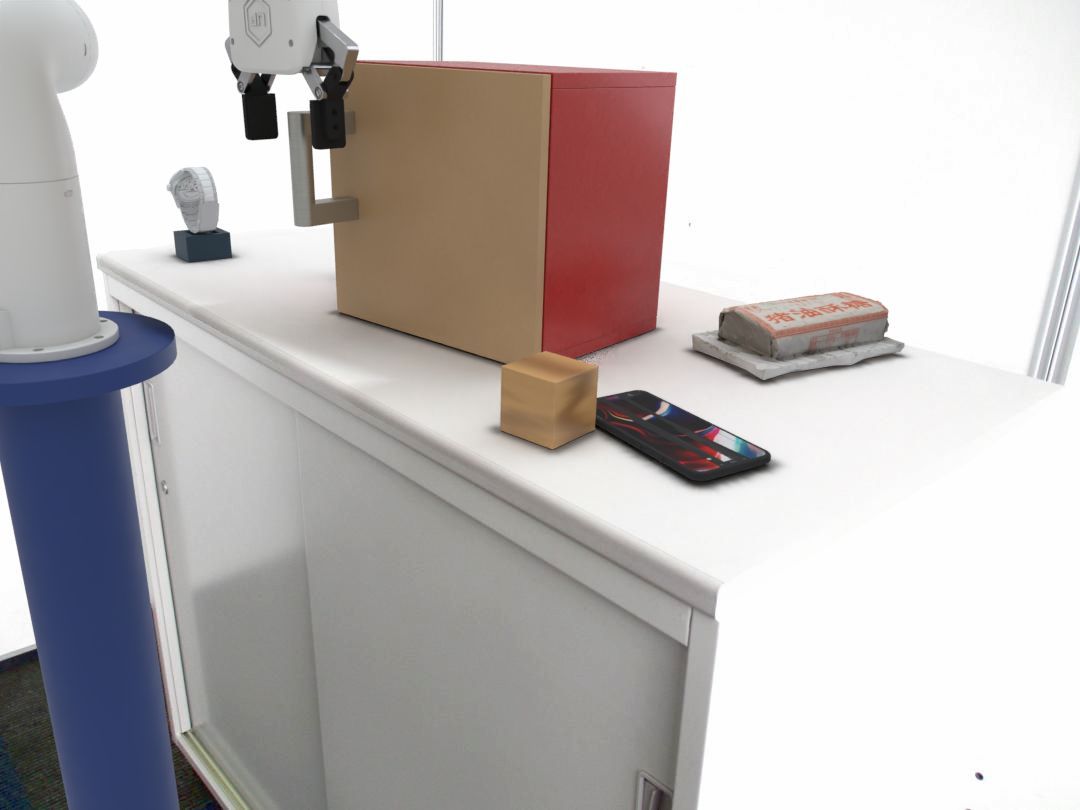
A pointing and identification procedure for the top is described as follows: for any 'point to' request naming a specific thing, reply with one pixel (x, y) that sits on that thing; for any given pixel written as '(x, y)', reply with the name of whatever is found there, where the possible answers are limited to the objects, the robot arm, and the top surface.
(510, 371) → the oak block
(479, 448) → the top surface
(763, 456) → the smartphone
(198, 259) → the watch
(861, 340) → the packaged product
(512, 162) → the cabinet door
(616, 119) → the cabinet
